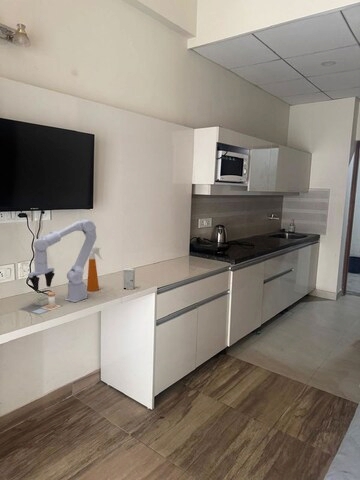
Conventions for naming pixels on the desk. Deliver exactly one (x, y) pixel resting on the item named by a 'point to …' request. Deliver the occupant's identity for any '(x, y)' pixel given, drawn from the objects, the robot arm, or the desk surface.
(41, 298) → the button
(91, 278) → the spray bottle
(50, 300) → the cylinder
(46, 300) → the button housing
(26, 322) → the desk surface
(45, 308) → the picture sheet
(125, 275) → the skincare box
